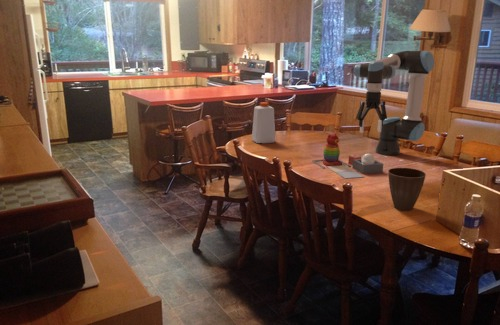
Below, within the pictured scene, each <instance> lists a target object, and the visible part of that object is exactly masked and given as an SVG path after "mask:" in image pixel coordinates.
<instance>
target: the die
mask: <svg viewBox="0 0 500 325" xmlns="http://www.w3.org/2000/svg"><path fill="white" fill-rule="evenodd" d="M355 159H362V156H361V155H360V156H359V155H357V154H351V155H348V163H347V164H349V165H350V166H353V160H355Z"/></svg>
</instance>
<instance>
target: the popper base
mask: <svg viewBox="0 0 500 325" xmlns="http://www.w3.org/2000/svg"><path fill="white" fill-rule="evenodd" d="M361 161H362V158H361V159H355V160H353V165H352V166H351V167H352V168H351V169H352V170H354V171H356V172H357V173H358V172H359V174H361V175H369V174H383V171H384V163H382V162H380V161H378V160H377V159H375V162H374V164H363V163H361Z"/></svg>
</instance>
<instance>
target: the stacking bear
mask: <svg viewBox="0 0 500 325" xmlns="http://www.w3.org/2000/svg"><path fill="white" fill-rule="evenodd" d="M339 142H340V138H339V136H338V135H337V133H331V134H328V135H327V137H326V144H325V146H324V148H323V160H324V161H322V164H323V166H326V167H327V166H342V165H343V163H342V162H341V161H339V160H338V159H340V153H341V152H340V146H339V144H338V143H339Z"/></svg>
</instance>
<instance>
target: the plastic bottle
mask: <svg viewBox="0 0 500 325" xmlns="http://www.w3.org/2000/svg"><path fill="white" fill-rule="evenodd" d="M252 120H253V121H252V133H251V139H252V141H253V142H254V143H257V144H260V143H262V144H272V143H275V142H276V127H275V124H276V123H275V108H274V107H273V106H270V105H269V102H267V101H265V102H263V101H262V102H259V105H257V106H254V108H253V119H252Z"/></svg>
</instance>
